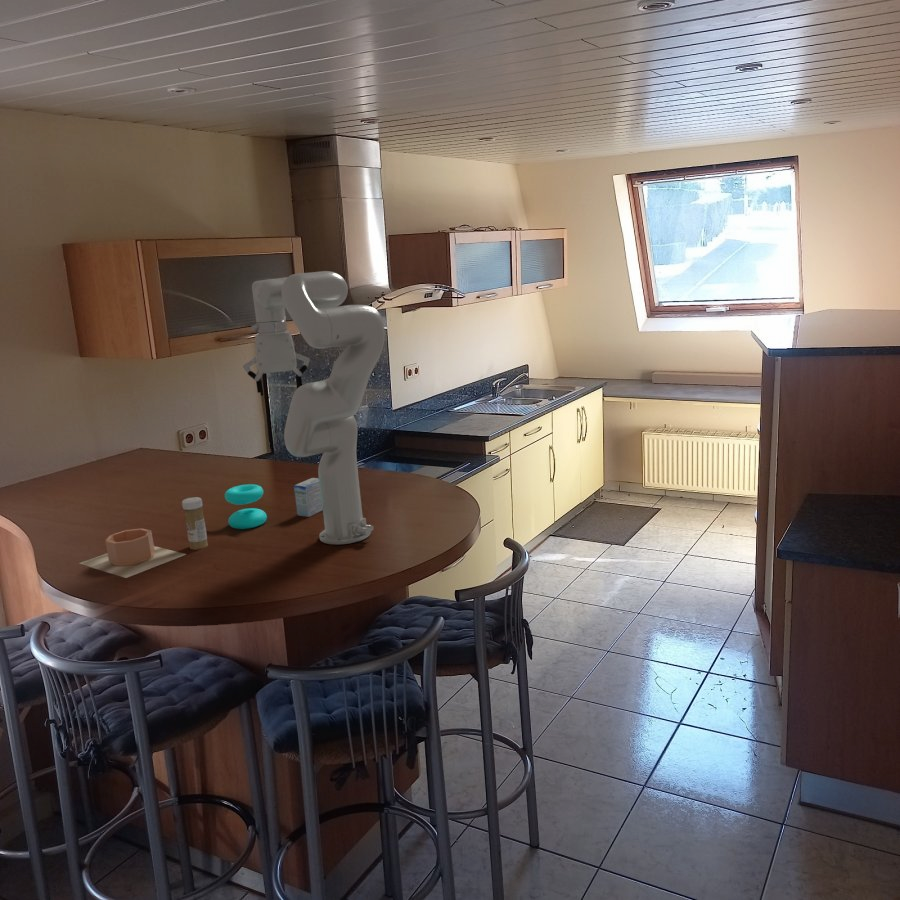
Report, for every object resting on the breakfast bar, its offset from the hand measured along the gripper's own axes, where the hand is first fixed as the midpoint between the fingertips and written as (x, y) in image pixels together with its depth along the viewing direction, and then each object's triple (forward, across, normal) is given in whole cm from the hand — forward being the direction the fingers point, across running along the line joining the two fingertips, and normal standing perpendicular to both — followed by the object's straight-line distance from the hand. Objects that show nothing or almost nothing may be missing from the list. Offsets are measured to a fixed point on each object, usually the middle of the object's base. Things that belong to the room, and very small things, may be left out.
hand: (280, 393), depth 220 cm
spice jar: (+34, -24, -21) cm, 47 cm away
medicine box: (+34, +4, -1) cm, 34 cm away
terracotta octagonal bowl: (+32, -40, -23) cm, 56 cm away
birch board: (+33, -40, -23) cm, 57 cm away
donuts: (+34, -13, -4) cm, 36 cm away
